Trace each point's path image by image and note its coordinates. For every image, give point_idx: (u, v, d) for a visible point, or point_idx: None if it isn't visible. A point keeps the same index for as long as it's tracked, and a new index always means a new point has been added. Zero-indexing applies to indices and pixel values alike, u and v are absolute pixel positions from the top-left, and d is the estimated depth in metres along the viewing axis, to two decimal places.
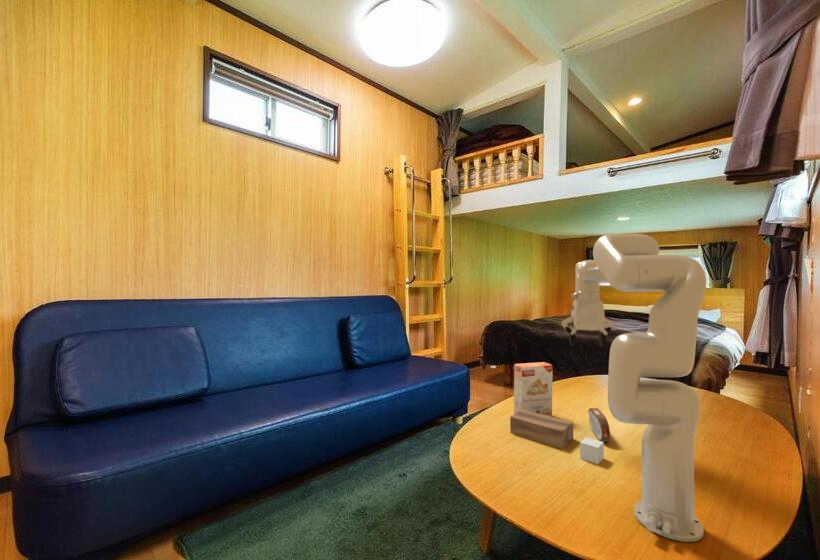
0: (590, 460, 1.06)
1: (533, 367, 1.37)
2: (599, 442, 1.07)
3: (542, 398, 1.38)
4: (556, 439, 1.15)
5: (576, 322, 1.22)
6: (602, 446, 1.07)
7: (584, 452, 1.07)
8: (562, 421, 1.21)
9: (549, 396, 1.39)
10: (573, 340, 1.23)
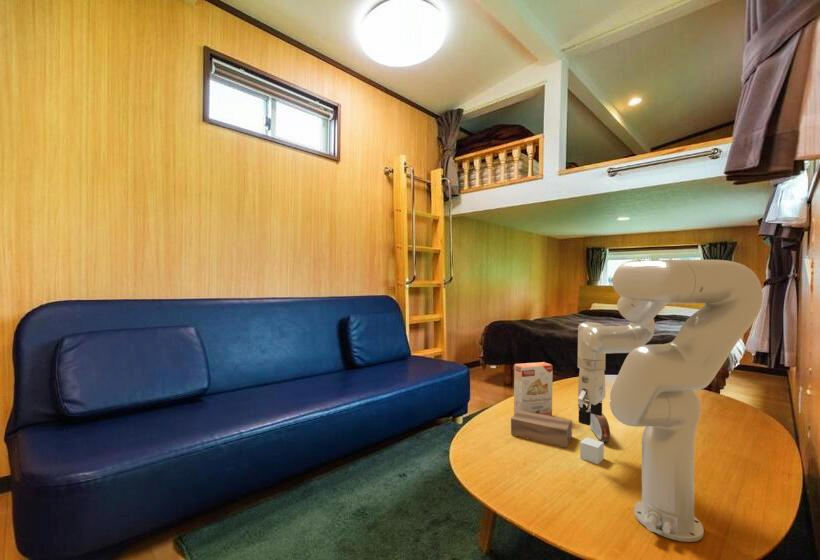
0: (590, 460, 1.06)
1: (533, 367, 1.37)
2: (599, 442, 1.07)
3: (542, 398, 1.38)
4: (560, 438, 1.15)
5: (594, 397, 1.03)
6: (602, 446, 1.07)
7: (584, 452, 1.07)
8: (561, 420, 1.23)
9: (549, 396, 1.39)
10: (588, 418, 1.04)
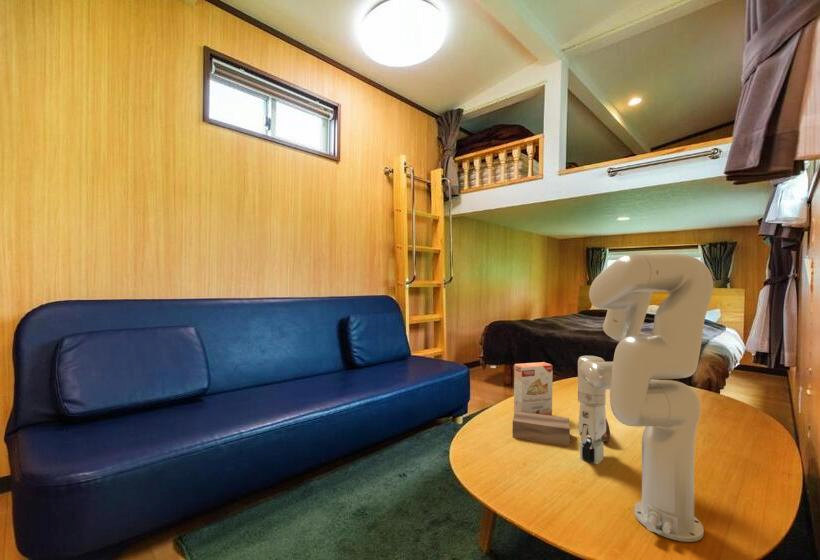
0: None
1: (533, 367, 1.37)
2: (599, 442, 1.07)
3: (542, 398, 1.38)
4: (563, 437, 1.16)
5: (595, 433, 1.03)
6: (602, 446, 1.07)
7: None
8: (560, 418, 1.24)
9: (549, 396, 1.39)
10: (592, 455, 1.05)
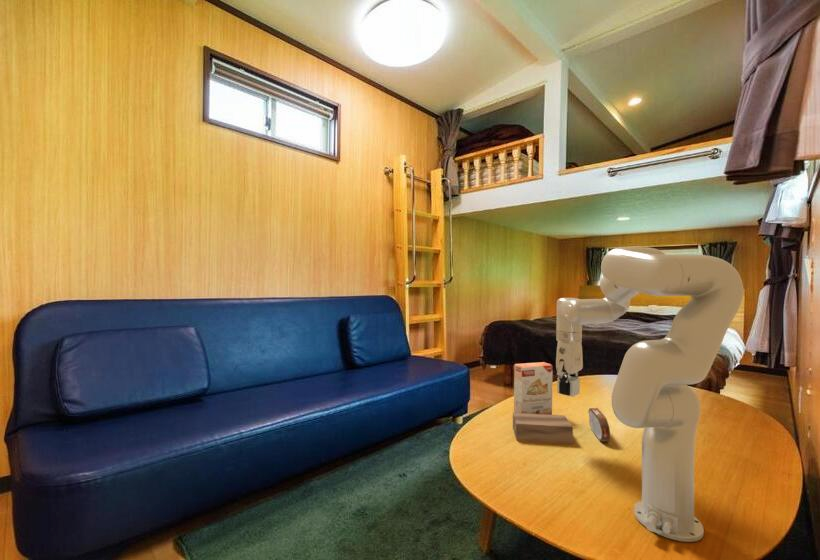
0: None
1: (533, 367, 1.37)
2: (575, 378, 1.14)
3: (542, 398, 1.38)
4: (567, 435, 1.17)
5: (570, 367, 1.09)
6: (578, 381, 1.14)
7: None
8: (557, 416, 1.26)
9: (549, 396, 1.39)
10: (568, 389, 1.11)
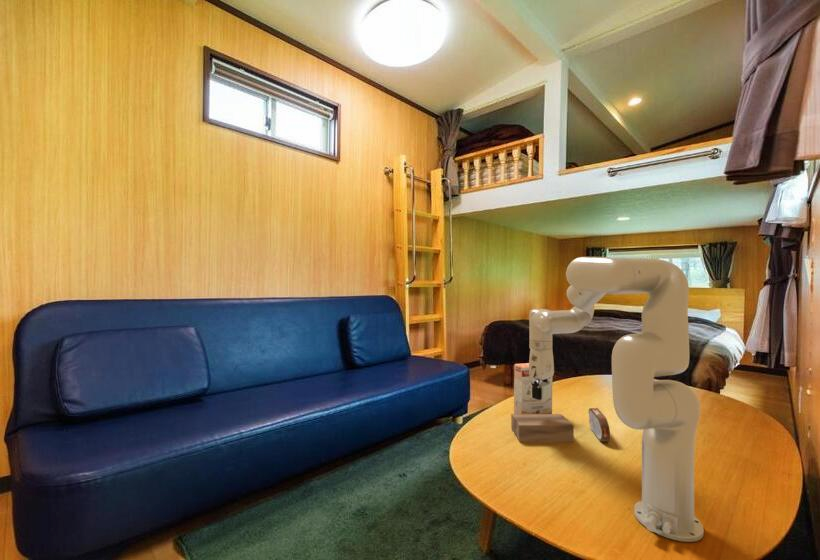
0: None
1: None
2: (547, 383, 1.23)
3: None
4: (568, 434, 1.18)
5: (541, 373, 1.18)
6: (549, 386, 1.23)
7: None
8: (555, 415, 1.27)
9: None
10: (539, 393, 1.20)
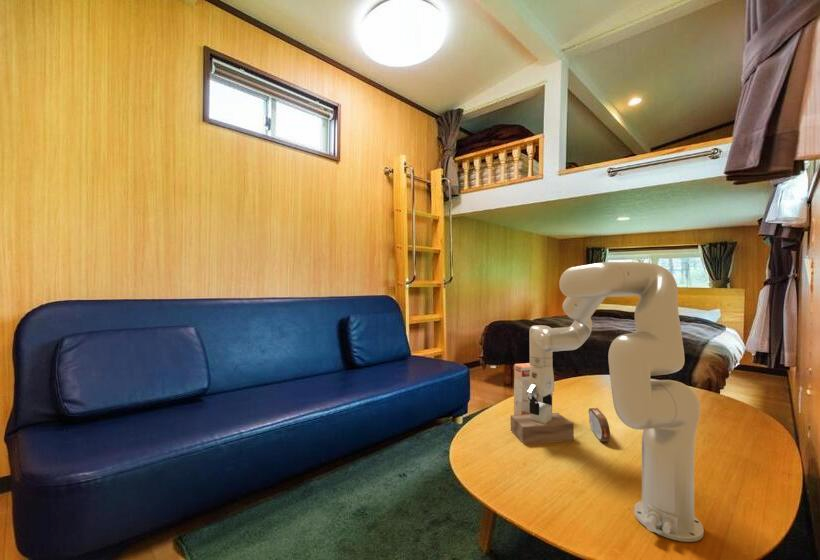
0: (539, 420, 1.21)
1: None
2: (547, 405, 1.23)
3: (542, 398, 1.38)
4: (568, 433, 1.19)
5: (541, 390, 1.18)
6: (550, 408, 1.23)
7: None
8: (552, 415, 1.27)
9: None
10: (537, 409, 1.19)
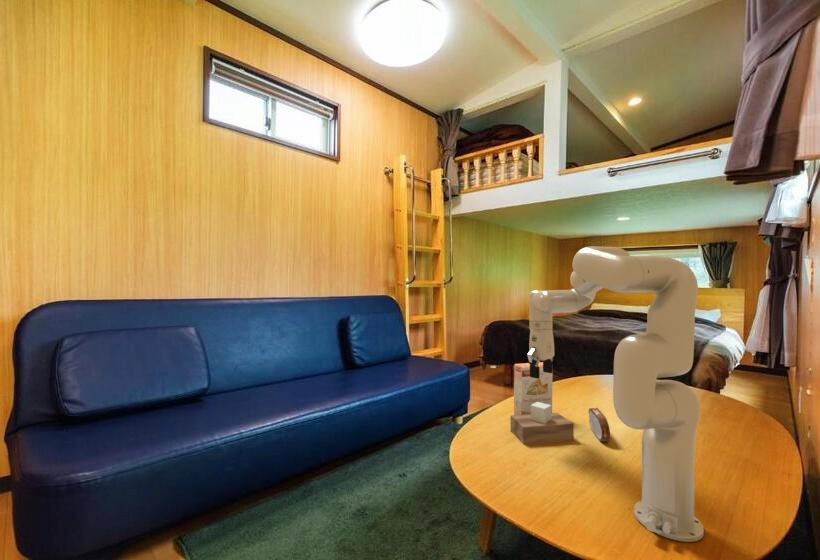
0: (538, 420, 1.21)
1: None
2: (547, 405, 1.23)
3: (542, 398, 1.38)
4: (568, 433, 1.19)
5: (542, 353, 1.18)
6: (549, 408, 1.23)
7: (533, 413, 1.23)
8: (552, 414, 1.27)
9: (549, 396, 1.39)
10: (537, 372, 1.19)
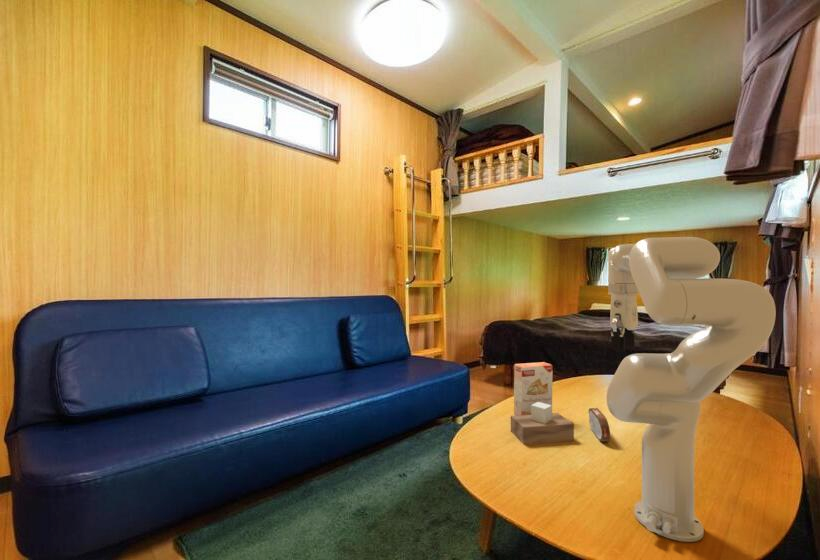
0: (539, 420, 1.21)
1: (533, 367, 1.37)
2: (548, 405, 1.23)
3: (542, 398, 1.38)
4: (568, 433, 1.19)
5: (628, 321, 0.98)
6: (550, 408, 1.22)
7: (534, 413, 1.23)
8: (552, 415, 1.27)
9: (549, 396, 1.39)
10: (622, 344, 0.99)
